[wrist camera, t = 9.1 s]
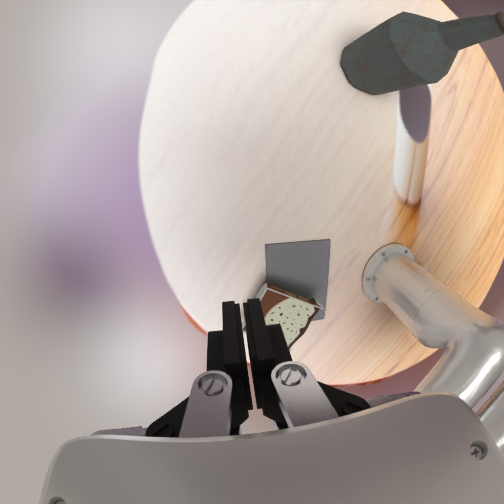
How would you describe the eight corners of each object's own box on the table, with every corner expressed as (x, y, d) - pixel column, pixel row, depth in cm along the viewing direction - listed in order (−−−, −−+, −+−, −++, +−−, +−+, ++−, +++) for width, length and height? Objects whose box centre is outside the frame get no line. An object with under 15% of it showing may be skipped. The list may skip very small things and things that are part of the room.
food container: (242, 316, 50) (288, 337, 51) (236, 336, 45) (287, 358, 45) (273, 263, 46) (323, 289, 47) (271, 279, 40) (327, 307, 41)
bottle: (329, 47, 33) (455, -36, 5) (374, 39, 32) (501, -14, 4) (355, 101, 37) (512, 75, 9) (397, 90, 36) (541, 75, 8)
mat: (329, 239, 45) (330, 240, 44) (323, 317, 51) (324, 318, 50) (265, 244, 44) (265, 245, 43) (267, 325, 50) (268, 326, 49)
